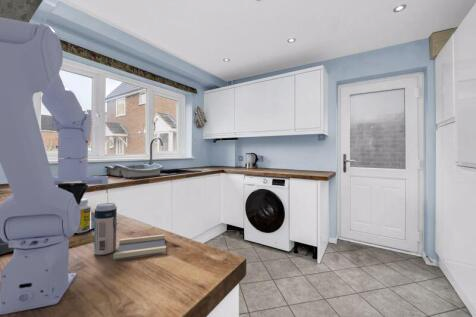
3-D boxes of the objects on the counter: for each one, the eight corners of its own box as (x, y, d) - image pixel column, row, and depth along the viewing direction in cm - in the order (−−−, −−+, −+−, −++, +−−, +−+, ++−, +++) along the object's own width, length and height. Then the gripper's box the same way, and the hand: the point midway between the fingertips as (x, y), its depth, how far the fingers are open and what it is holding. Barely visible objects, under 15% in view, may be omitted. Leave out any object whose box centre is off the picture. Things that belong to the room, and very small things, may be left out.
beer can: (120, 250, 55) (120, 204, 55) (100, 258, 51) (101, 207, 51) (109, 246, 58) (110, 202, 58) (90, 253, 53) (90, 205, 53)
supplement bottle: (85, 233, 67) (85, 201, 67) (65, 234, 66) (65, 201, 66) (93, 228, 73) (93, 197, 73) (74, 229, 71) (74, 198, 72)
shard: (101, 240, 63) (102, 233, 63) (87, 251, 56) (87, 244, 56) (61, 241, 62) (61, 235, 62) (41, 253, 54) (41, 246, 54)
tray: (166, 253, 54) (166, 247, 54) (113, 260, 50) (113, 254, 50) (164, 239, 63) (164, 234, 63) (119, 244, 59) (119, 239, 59)
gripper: (110, 159, 58) (110, 209, 58) (43, 158, 53) (42, 213, 53) (105, 159, 52) (104, 215, 52) (27, 158, 46) (26, 221, 46)
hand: (72, 215), depth 52 cm, fingers closed
